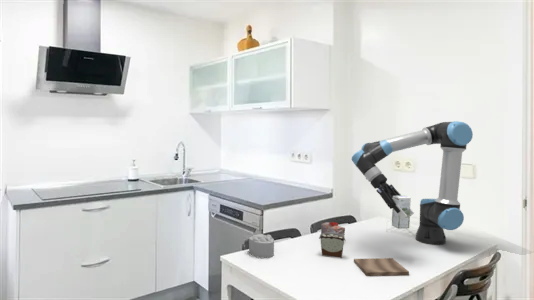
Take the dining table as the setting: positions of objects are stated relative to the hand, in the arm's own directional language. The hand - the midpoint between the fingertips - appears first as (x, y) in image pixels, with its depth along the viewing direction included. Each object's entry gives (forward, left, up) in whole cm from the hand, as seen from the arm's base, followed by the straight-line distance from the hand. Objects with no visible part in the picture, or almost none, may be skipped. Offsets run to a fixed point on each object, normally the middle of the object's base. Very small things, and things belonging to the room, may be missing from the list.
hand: (408, 216), depth 165 cm
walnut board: (+16, +8, -21) cm, 27 cm away
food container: (+32, -10, -21) cm, 39 cm away
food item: (+26, -33, -21) cm, 47 cm away
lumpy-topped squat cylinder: (+66, -13, -21) cm, 70 cm away
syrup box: (+2, -2, -6) cm, 7 cm away
